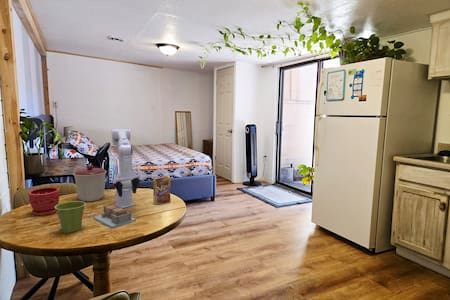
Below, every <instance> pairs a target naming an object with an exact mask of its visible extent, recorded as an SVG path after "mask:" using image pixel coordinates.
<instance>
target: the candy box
mask: <svg viewBox="0 0 450 300" xmlns="http://www.w3.org/2000/svg"><path fill="white" fill-rule="evenodd" d="M152 178H153V181H152V182H153V187H152V188H153V189H152V190H153V204H154V205H156V206H157V205H164V204H170V203H171V176H169V175H166V176H164V175H163V176H155V177H152Z"/></svg>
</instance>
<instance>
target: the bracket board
mask: <svg viewBox="0 0 450 300" xmlns="http://www.w3.org/2000/svg"><path fill="white" fill-rule="evenodd" d="M92 219H93V220H94V221H96V222H99V223H101V224H103V225H105V226H106V227H108V228H110V229H115V228H118V227H121V226H124V225H128V224H131V223H133V222H136V221H137V218H134V217H133V216H132V213H131V212H130V211H127V214H124V215H120V216H116V215H113V214H112V215H111V219H109V218H107V217H105V213H104V212H102V213H101V214H98V215H95V216H93V218H92Z"/></svg>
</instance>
